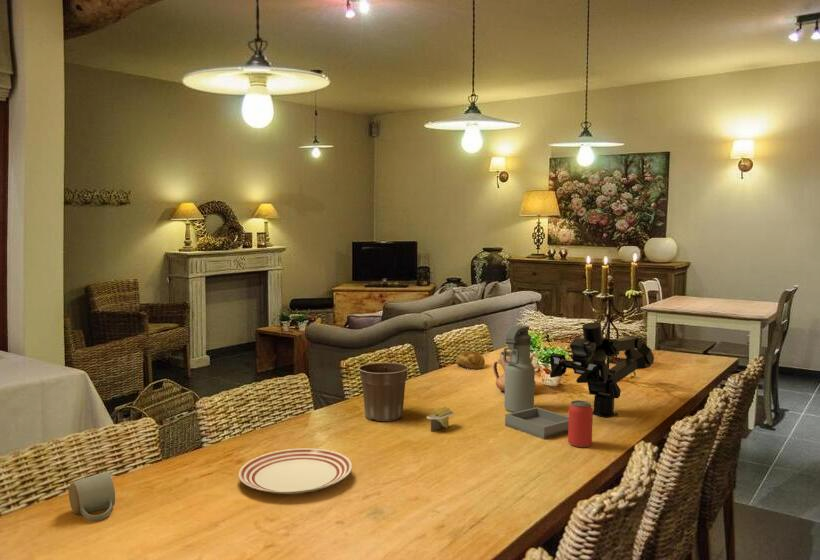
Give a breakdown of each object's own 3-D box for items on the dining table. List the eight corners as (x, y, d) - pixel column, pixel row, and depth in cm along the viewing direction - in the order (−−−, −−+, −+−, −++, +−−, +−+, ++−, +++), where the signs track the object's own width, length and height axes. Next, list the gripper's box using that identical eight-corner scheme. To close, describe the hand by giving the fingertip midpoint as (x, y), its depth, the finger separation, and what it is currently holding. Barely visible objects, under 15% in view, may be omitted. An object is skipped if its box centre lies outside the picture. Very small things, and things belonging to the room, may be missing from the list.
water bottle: (520, 415, 223) (521, 330, 220) (497, 409, 230) (498, 326, 227) (539, 410, 229) (541, 327, 227) (517, 403, 237) (518, 323, 234)
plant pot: (351, 412, 226) (351, 364, 224) (397, 407, 232) (397, 360, 231) (368, 426, 211) (368, 374, 209) (416, 420, 217) (416, 370, 216)
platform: (474, 427, 212) (474, 406, 211) (438, 441, 198) (439, 419, 197) (443, 419, 219) (443, 399, 219) (407, 433, 206) (407, 411, 205)
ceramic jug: (545, 391, 254) (546, 353, 252) (526, 399, 242) (526, 360, 241) (503, 383, 265) (504, 347, 264) (483, 391, 254) (483, 353, 252)
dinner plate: (301, 513, 150) (301, 498, 150) (214, 486, 165) (214, 473, 164) (374, 473, 173) (374, 460, 173) (291, 453, 188) (291, 441, 187)
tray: (536, 417, 221) (536, 407, 220) (575, 430, 208) (576, 419, 207) (505, 425, 212) (505, 414, 212) (543, 439, 199) (544, 427, 199)
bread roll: (451, 366, 295) (451, 348, 294) (466, 363, 302) (466, 345, 301) (474, 371, 286) (474, 352, 285) (489, 368, 292) (489, 349, 292)
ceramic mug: (67, 509, 151) (66, 475, 150) (106, 499, 156) (105, 466, 155) (80, 527, 143) (79, 491, 142) (121, 516, 148) (120, 481, 147)
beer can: (592, 449, 191) (593, 406, 190) (568, 447, 193) (569, 405, 192) (591, 441, 198) (592, 400, 197) (567, 439, 199) (568, 399, 198)
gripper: (561, 331, 221) (534, 349, 210) (615, 338, 208) (588, 358, 197) (565, 362, 224) (538, 382, 213) (618, 372, 211) (592, 393, 200)
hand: (563, 378), depth 206 cm, fingers open, 9 cm apart
